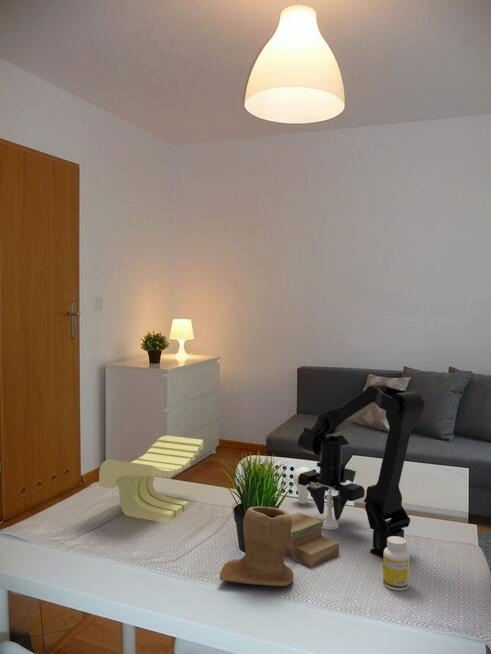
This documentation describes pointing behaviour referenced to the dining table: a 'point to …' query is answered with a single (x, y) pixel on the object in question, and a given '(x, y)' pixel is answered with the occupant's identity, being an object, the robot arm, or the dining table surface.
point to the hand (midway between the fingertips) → (329, 516)
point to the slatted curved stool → (150, 478)
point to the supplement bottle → (396, 564)
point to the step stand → (309, 541)
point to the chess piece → (329, 514)
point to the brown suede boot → (262, 549)
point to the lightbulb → (300, 488)
